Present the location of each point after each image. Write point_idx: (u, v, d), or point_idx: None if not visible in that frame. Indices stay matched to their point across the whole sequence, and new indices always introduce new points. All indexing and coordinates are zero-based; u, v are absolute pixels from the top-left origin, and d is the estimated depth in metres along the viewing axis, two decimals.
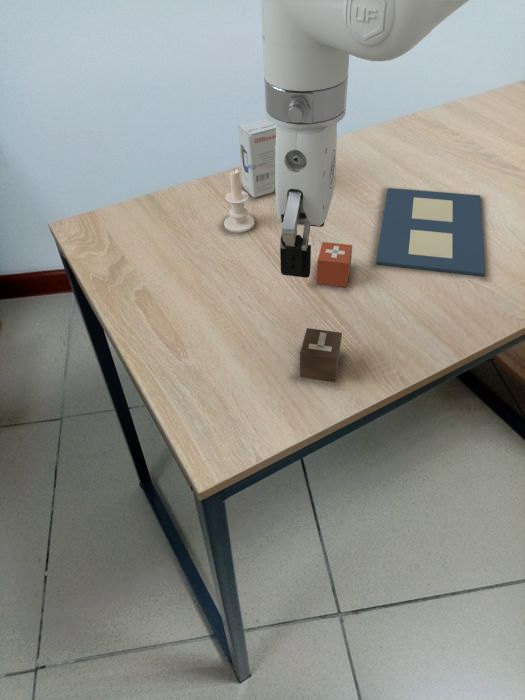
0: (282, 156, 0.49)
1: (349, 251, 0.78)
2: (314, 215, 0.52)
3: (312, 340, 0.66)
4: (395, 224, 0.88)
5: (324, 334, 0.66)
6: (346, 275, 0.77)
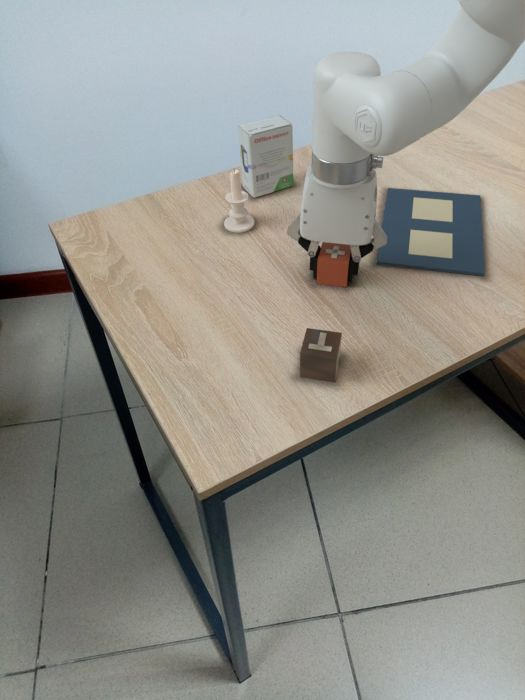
0: (373, 196, 0.68)
1: (349, 251, 0.78)
2: None
3: (312, 340, 0.66)
4: (395, 224, 0.88)
5: (324, 334, 0.66)
6: (346, 275, 0.77)
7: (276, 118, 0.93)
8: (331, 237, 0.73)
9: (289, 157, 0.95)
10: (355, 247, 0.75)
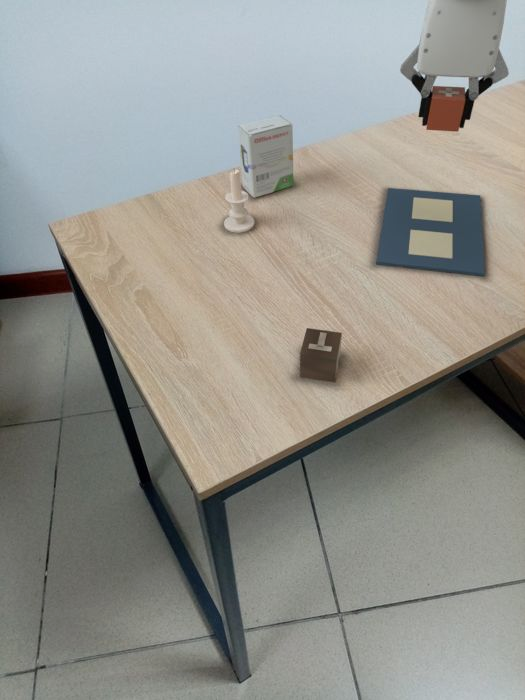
0: (504, 12, 0.66)
1: (463, 91, 0.75)
2: None
3: (312, 340, 0.66)
4: (395, 224, 0.88)
5: (324, 334, 0.66)
6: (460, 116, 0.75)
7: (276, 118, 0.93)
8: (451, 67, 0.71)
9: (289, 157, 0.95)
10: (474, 81, 0.72)
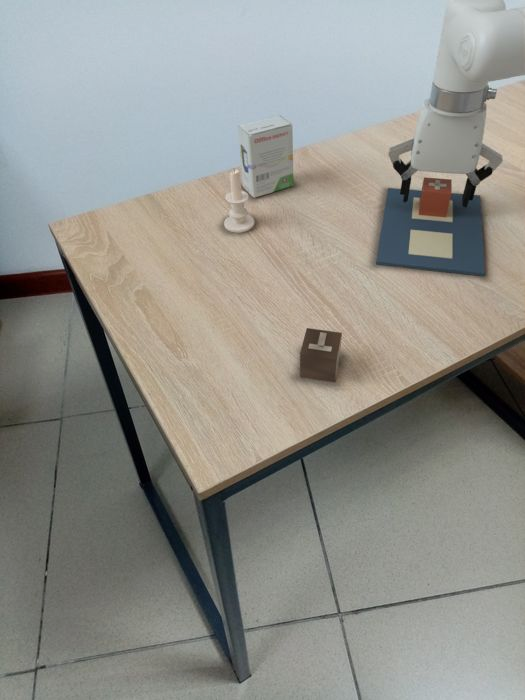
0: (484, 126, 0.78)
1: (450, 184, 0.87)
2: None
3: (312, 340, 0.66)
4: (395, 224, 0.88)
5: (324, 334, 0.66)
6: (447, 205, 0.87)
7: (276, 118, 0.93)
8: (440, 166, 0.83)
9: (289, 157, 0.95)
10: (470, 172, 0.83)
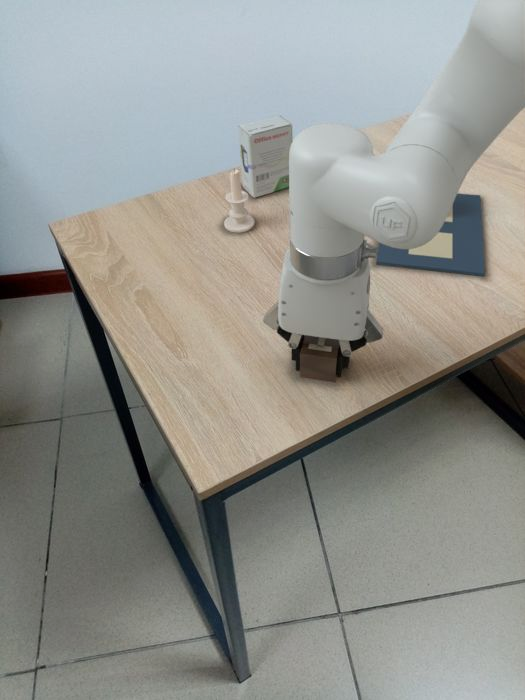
0: (365, 290, 0.56)
1: None
2: None
3: (312, 340, 0.66)
4: None
5: None
6: None
7: (276, 118, 0.93)
8: (315, 331, 0.61)
9: None
10: (344, 341, 0.62)
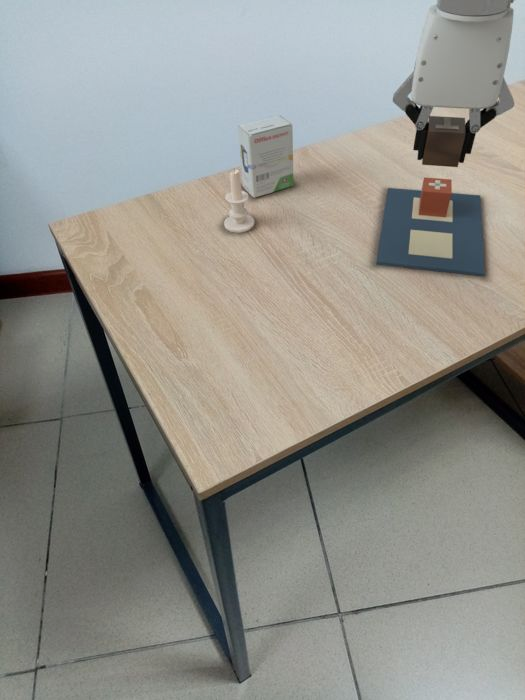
0: (510, 38, 0.58)
1: (450, 184, 0.87)
2: None
3: (437, 123, 0.68)
4: (395, 224, 0.88)
5: (448, 119, 0.68)
6: (447, 205, 0.87)
7: (276, 118, 0.93)
8: (450, 98, 0.63)
9: (289, 157, 0.95)
10: (476, 112, 0.64)
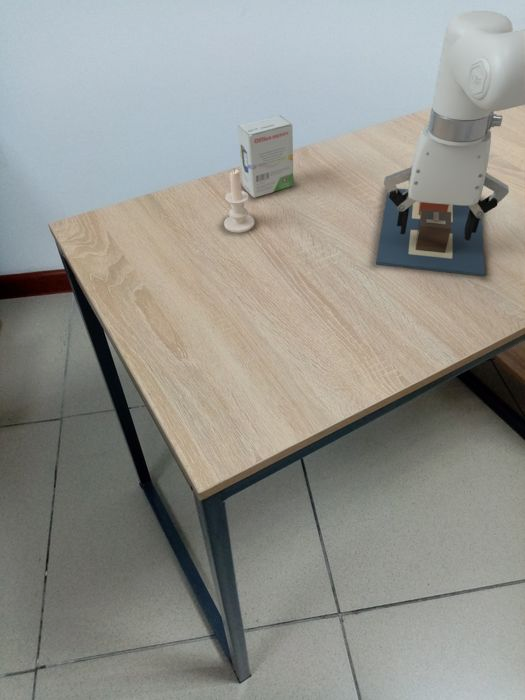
0: (488, 155, 0.71)
1: None
2: None
3: (428, 217, 0.81)
4: (395, 224, 0.88)
5: (437, 213, 0.82)
6: (447, 205, 0.87)
7: (276, 118, 0.93)
8: (440, 197, 0.76)
9: (289, 157, 0.95)
10: (473, 204, 0.76)
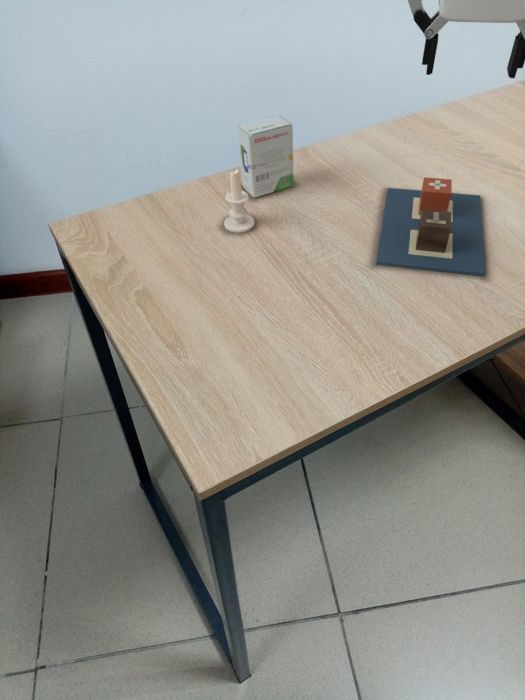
0: None
1: (450, 184, 0.87)
2: None
3: (428, 217, 0.81)
4: (395, 224, 0.88)
5: (437, 213, 0.82)
6: (447, 205, 0.87)
7: (276, 118, 0.93)
8: (481, 10, 0.59)
9: (289, 157, 0.95)
10: (523, 20, 0.59)
